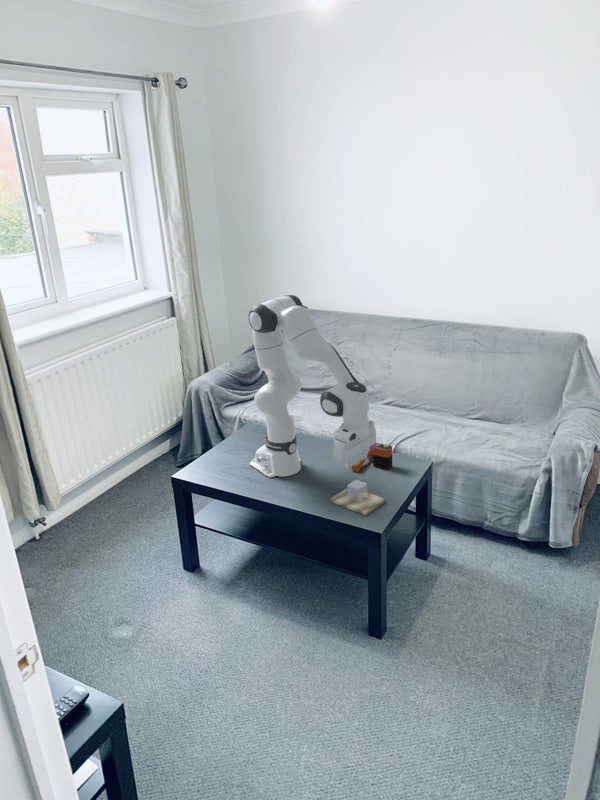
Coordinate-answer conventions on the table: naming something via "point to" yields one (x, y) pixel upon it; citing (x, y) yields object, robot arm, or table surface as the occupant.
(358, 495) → the brushed metal cube
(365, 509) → the holder
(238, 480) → the table surface
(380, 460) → the battery
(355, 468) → the kendama
